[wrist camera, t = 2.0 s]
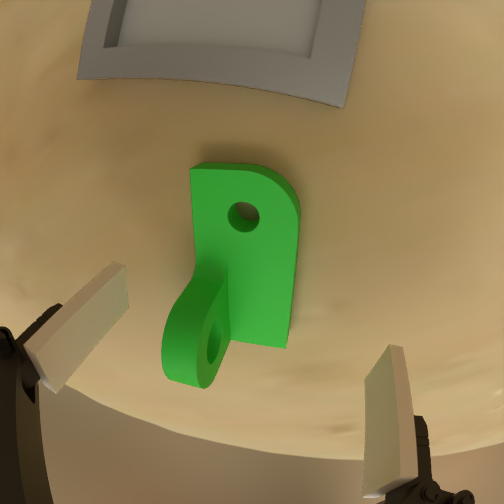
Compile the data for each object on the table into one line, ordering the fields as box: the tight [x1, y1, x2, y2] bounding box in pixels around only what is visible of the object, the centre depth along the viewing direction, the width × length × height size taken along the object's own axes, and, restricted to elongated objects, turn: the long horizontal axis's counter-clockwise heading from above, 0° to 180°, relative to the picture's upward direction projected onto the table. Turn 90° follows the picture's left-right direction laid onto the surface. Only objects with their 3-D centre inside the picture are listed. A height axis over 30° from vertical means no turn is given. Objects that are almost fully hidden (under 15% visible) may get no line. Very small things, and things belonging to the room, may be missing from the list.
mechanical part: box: [161, 163, 301, 389], centre depth 16 cm, size 12×6×8 cm, turn 0°
